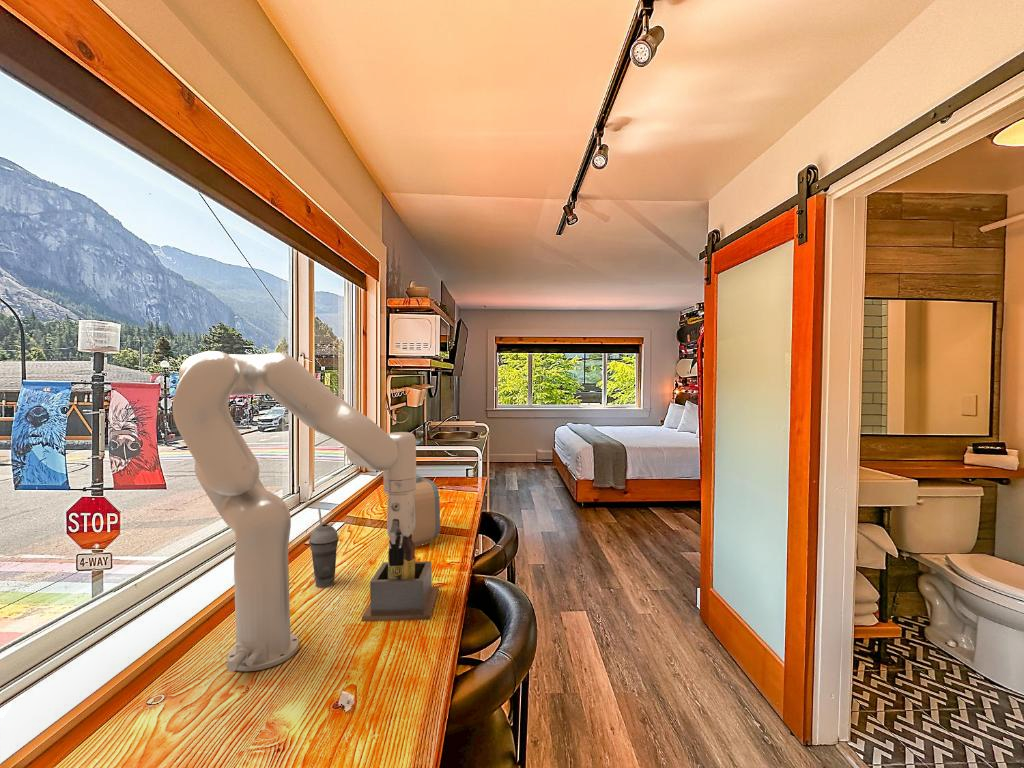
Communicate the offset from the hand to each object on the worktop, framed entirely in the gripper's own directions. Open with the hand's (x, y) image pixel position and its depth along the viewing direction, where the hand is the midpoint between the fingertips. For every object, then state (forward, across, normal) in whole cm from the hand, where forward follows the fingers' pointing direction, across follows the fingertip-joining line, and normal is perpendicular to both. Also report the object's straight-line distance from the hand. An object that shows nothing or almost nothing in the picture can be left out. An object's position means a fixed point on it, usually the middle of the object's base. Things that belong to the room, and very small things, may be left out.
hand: (401, 557), depth 119 cm
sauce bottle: (+10, 0, 0) cm, 10 cm away
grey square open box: (+11, 0, 0) cm, 11 cm away
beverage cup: (+12, +13, +23) cm, 29 cm away
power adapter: (+12, -36, 0) cm, 38 cm away
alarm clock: (+11, +47, +6) cm, 49 cm away
